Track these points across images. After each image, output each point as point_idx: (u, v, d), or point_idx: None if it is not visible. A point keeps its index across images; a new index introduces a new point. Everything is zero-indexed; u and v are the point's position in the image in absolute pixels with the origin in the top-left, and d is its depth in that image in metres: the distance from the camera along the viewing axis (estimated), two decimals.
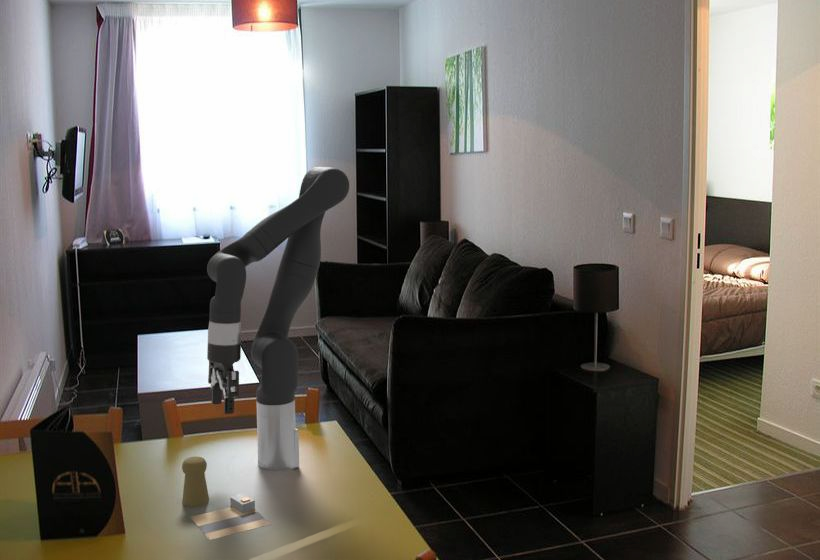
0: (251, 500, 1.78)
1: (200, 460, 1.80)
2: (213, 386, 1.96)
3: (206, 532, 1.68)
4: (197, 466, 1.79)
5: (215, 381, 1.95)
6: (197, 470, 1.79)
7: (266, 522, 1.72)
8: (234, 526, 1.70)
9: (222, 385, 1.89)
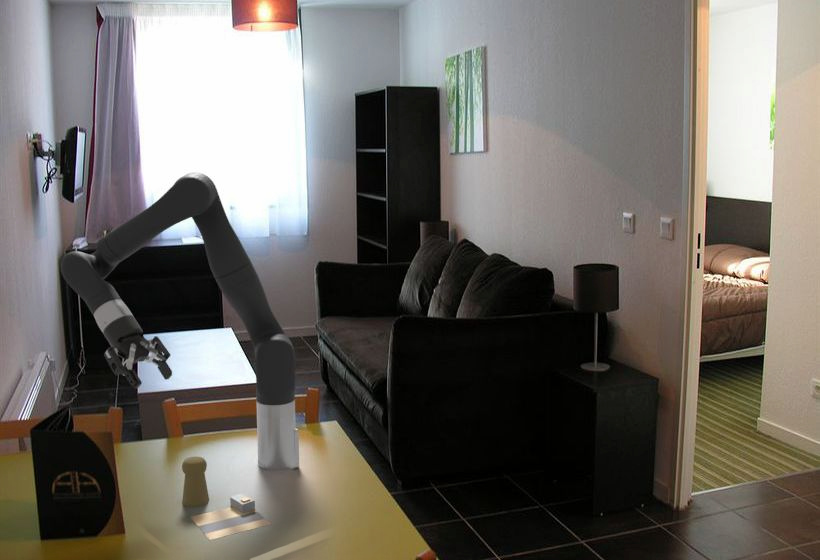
0: (251, 500, 1.78)
1: (200, 460, 1.80)
2: (156, 364, 1.89)
3: (206, 532, 1.68)
4: (197, 466, 1.79)
5: (149, 360, 1.89)
6: (197, 470, 1.79)
7: (266, 522, 1.72)
8: (234, 526, 1.70)
9: (122, 365, 1.83)
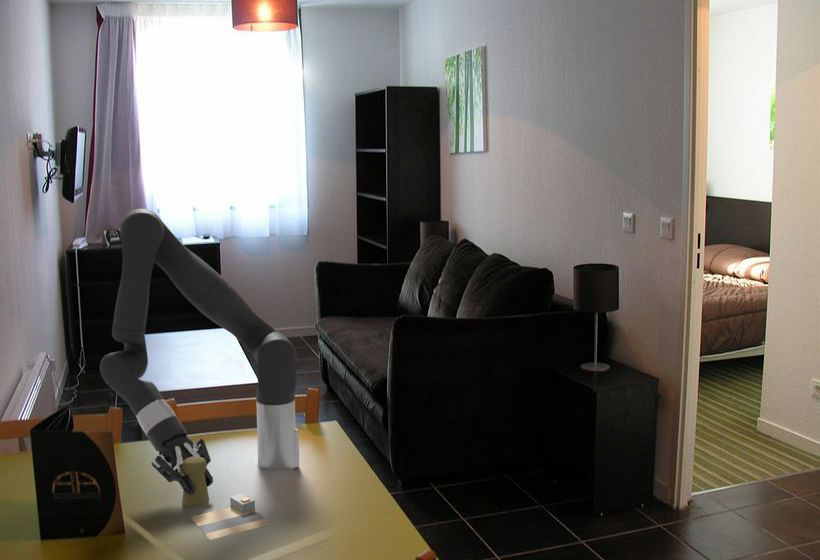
0: (251, 500, 1.78)
1: (200, 460, 1.80)
2: None
3: (206, 532, 1.68)
4: (197, 466, 1.79)
5: None
6: (197, 470, 1.79)
7: (266, 522, 1.72)
8: (234, 526, 1.70)
9: None
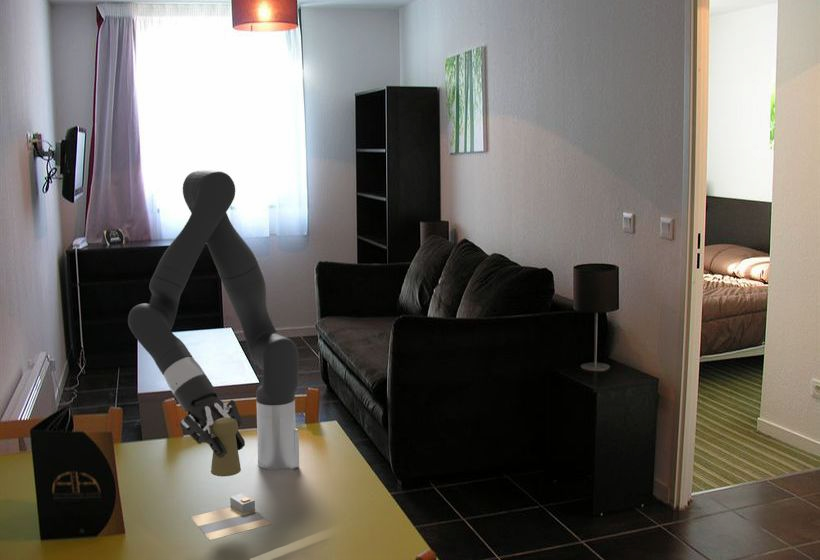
0: (251, 500, 1.78)
1: (232, 421, 1.68)
2: None
3: (206, 532, 1.68)
4: (229, 427, 1.67)
5: None
6: (228, 431, 1.67)
7: (266, 522, 1.72)
8: (234, 526, 1.70)
9: None
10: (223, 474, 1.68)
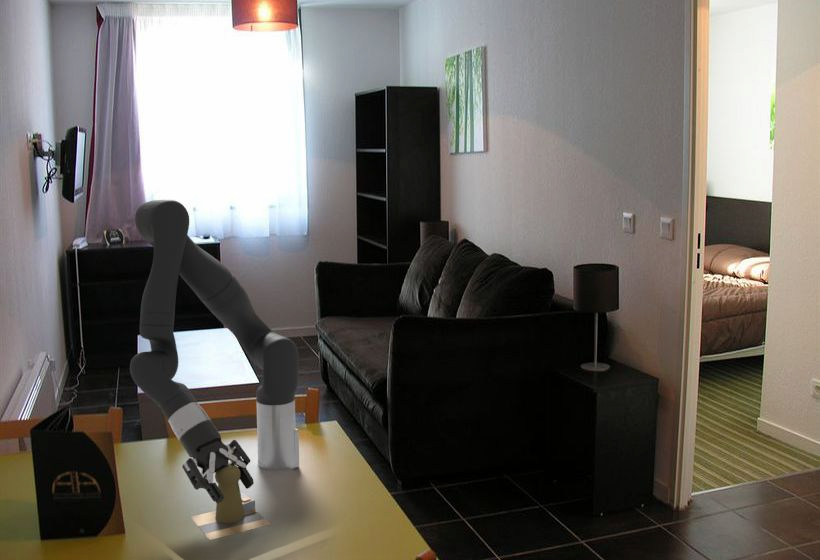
0: (251, 500, 1.78)
1: (234, 469, 1.72)
2: None
3: (206, 532, 1.68)
4: (232, 475, 1.71)
5: None
6: (232, 479, 1.71)
7: (266, 522, 1.72)
8: (234, 526, 1.70)
9: None
10: (228, 521, 1.72)
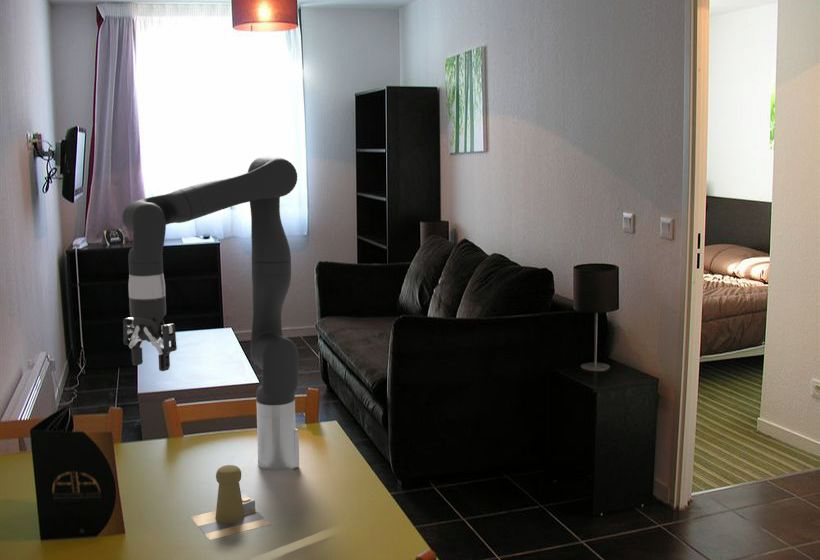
0: (251, 500, 1.78)
1: (235, 469, 1.72)
2: (133, 346, 1.82)
3: (206, 532, 1.68)
4: (233, 475, 1.71)
5: (137, 340, 1.81)
6: (233, 479, 1.71)
7: (266, 522, 1.72)
8: (234, 526, 1.70)
9: (155, 341, 1.77)
10: (228, 521, 1.72)
